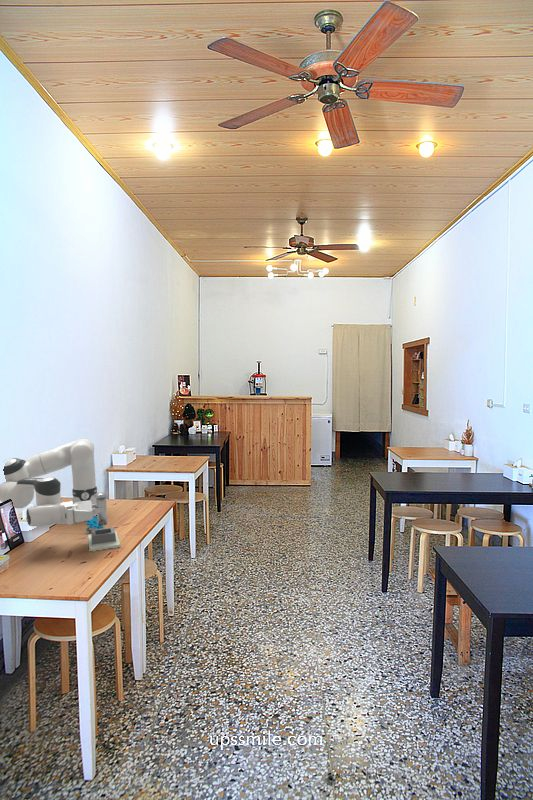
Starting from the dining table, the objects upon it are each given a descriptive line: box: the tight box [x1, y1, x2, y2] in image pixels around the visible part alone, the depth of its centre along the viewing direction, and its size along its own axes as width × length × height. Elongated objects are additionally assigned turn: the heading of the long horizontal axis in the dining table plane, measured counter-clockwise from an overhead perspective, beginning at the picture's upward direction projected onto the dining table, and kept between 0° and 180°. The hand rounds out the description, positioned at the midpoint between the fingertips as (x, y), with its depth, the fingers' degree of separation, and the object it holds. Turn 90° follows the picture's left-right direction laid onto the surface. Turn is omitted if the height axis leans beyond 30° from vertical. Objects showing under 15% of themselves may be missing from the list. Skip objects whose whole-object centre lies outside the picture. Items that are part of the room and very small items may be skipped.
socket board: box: [87, 526, 121, 552], centre depth 215 cm, size 20×12×5 cm, turn 21°
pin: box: [94, 491, 109, 527], centre depth 214 cm, size 6×6×13 cm
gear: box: [84, 516, 104, 531], centre depth 233 cm, size 11×6×10 cm
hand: (103, 507), depth 214 cm, fingers closed on pin, 4 cm apart
